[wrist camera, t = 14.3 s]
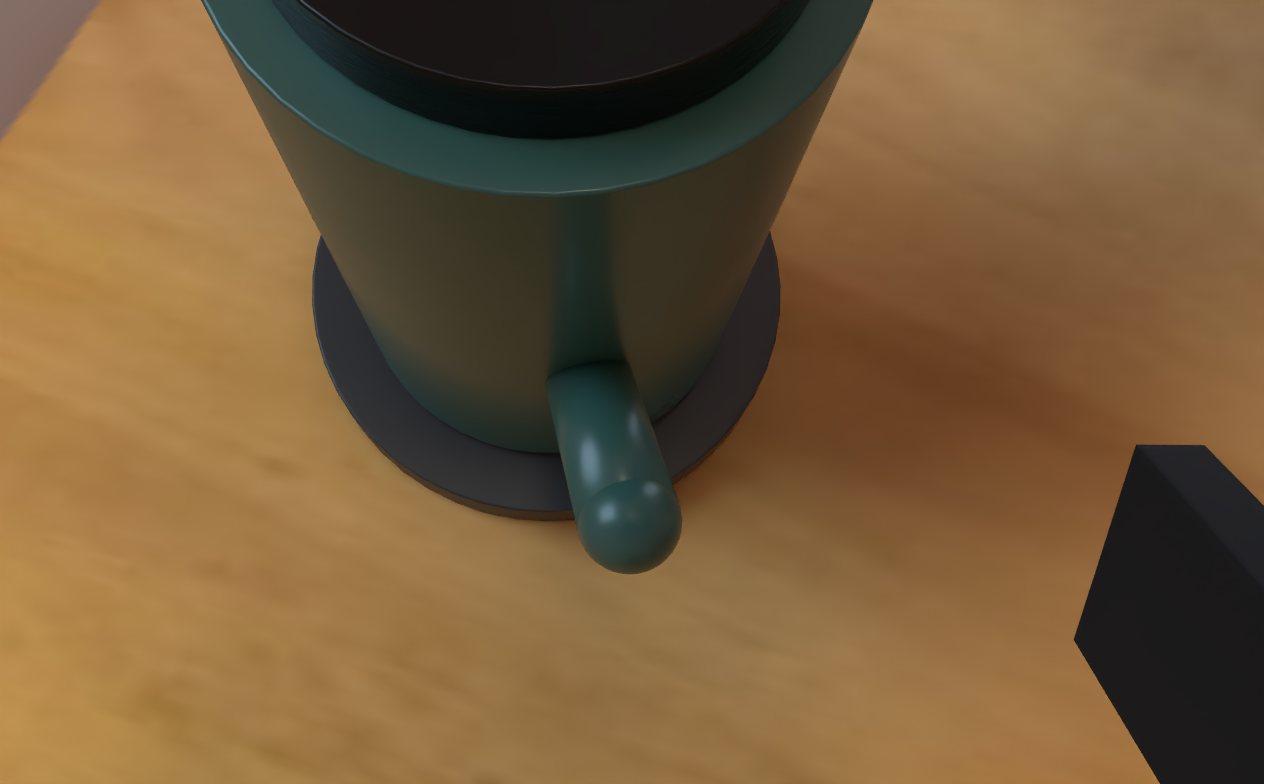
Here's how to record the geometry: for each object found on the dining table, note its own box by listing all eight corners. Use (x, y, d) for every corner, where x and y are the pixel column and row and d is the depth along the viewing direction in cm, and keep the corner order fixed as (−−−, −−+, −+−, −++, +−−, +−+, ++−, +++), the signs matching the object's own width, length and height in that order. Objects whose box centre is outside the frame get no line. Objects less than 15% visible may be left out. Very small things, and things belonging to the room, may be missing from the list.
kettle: (802, 578, 28) (1197, 382, 11) (414, 652, 26) (152, 570, 9) (657, -42, 32) (768, -861, 15) (325, -2, 31) (46, -837, 14)
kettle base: (845, 231, 32) (858, 209, 31) (633, 609, 29) (637, 604, 27) (478, 32, 33) (474, 2, 32) (231, 373, 30) (214, 357, 28)
